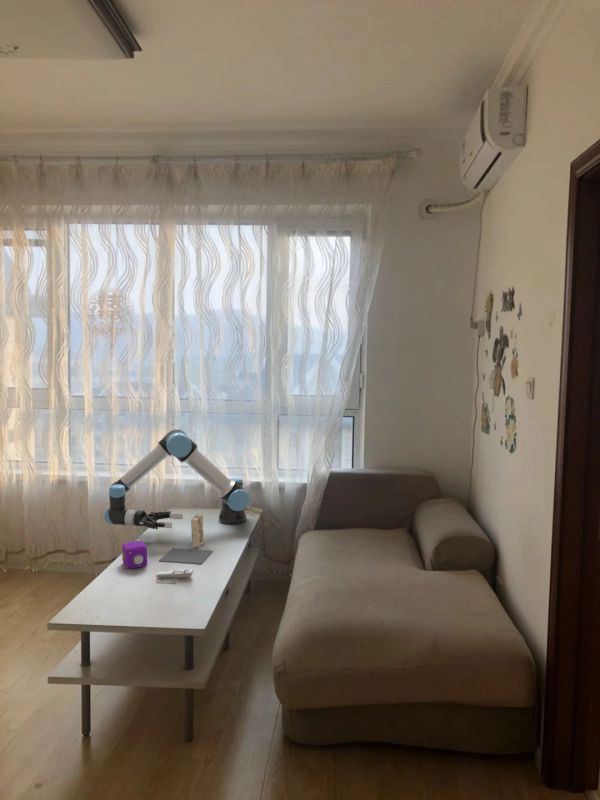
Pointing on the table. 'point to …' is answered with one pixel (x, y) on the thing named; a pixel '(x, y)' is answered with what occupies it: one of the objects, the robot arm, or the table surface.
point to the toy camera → (134, 554)
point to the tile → (197, 530)
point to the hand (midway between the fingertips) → (177, 520)
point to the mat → (186, 556)
